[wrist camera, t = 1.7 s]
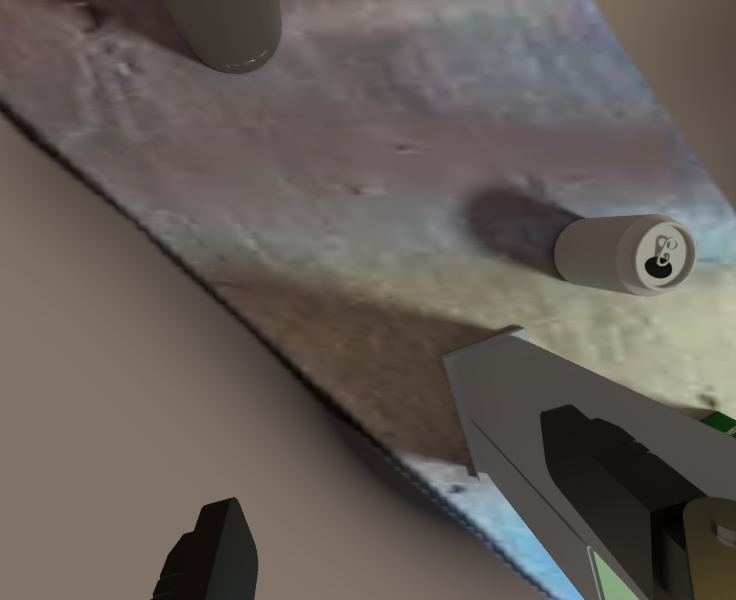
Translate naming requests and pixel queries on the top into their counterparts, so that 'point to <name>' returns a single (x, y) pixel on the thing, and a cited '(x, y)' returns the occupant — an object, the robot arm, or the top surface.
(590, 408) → the stand
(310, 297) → the top surface
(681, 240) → the can
